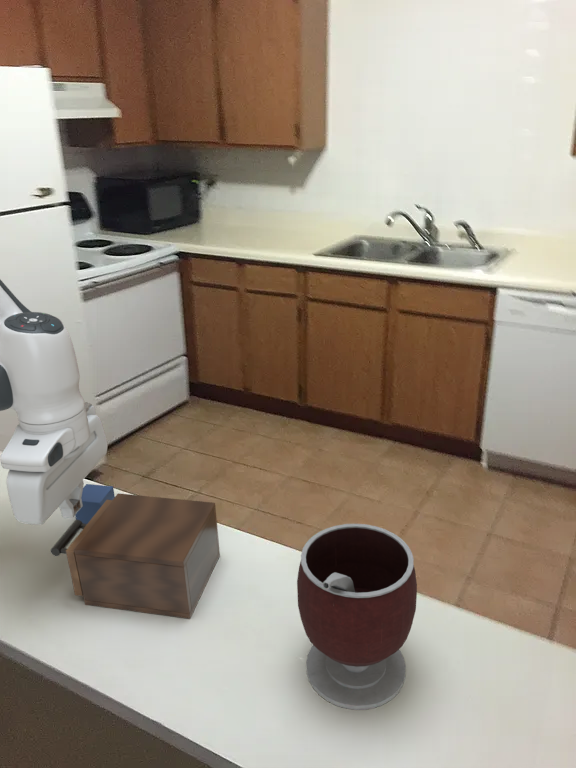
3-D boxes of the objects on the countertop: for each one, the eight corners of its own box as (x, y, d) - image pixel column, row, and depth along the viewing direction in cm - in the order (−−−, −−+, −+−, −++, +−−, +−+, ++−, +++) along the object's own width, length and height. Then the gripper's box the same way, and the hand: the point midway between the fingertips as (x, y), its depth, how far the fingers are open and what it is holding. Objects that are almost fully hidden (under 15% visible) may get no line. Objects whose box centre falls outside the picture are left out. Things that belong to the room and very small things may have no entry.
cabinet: (84, 604, 95) (73, 548, 91) (126, 544, 107) (117, 493, 103) (190, 618, 92) (183, 561, 88) (220, 555, 104) (215, 502, 100)
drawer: (46, 591, 96) (36, 547, 93) (87, 538, 108) (79, 496, 104) (171, 607, 93) (164, 562, 89) (200, 550, 104) (196, 508, 100)
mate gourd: (327, 614, 92) (326, 490, 84) (426, 647, 86) (435, 518, 78) (274, 699, 79) (266, 564, 71) (385, 745, 73) (390, 603, 65)
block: (76, 524, 113) (72, 499, 111) (90, 507, 117) (86, 483, 115) (104, 527, 112) (99, 502, 110) (117, 510, 116) (113, 486, 114)
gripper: (72, 396, 102) (87, 473, 108) (-9, 464, 84) (14, 554, 89) (110, 398, 101) (123, 476, 106) (36, 468, 82) (56, 558, 88)
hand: (72, 512), depth 98 cm, fingers closed
